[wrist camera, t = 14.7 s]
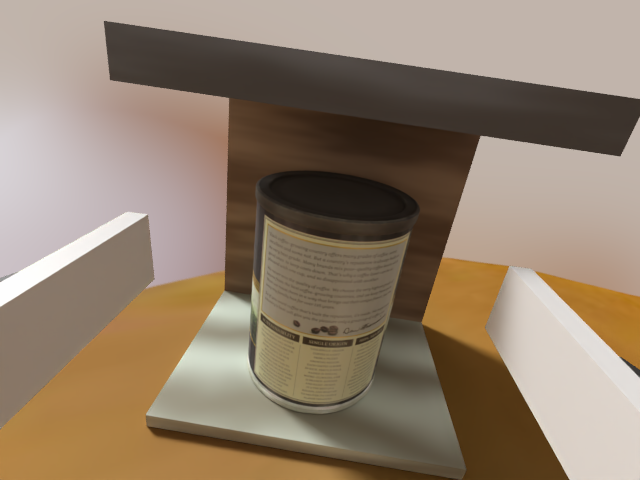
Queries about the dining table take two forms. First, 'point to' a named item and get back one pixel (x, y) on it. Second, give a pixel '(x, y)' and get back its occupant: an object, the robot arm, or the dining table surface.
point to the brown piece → (362, 161)
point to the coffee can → (323, 285)
